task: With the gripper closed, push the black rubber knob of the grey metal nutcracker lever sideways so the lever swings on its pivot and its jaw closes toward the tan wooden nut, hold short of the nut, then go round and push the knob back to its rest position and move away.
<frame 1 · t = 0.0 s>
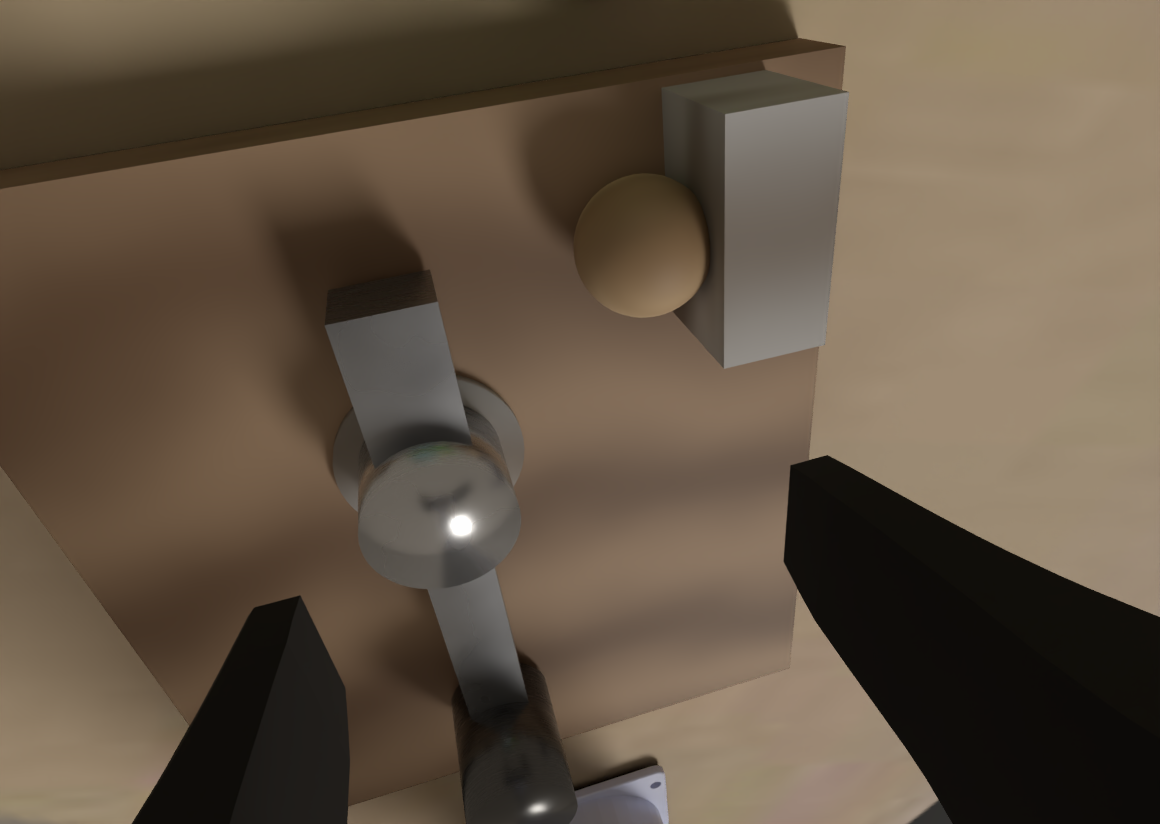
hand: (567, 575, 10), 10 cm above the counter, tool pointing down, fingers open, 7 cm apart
board: (480, 486, 22), on the counter
lever: (467, 608, 18), point 4 cm above the counter, hinge at 0.0°
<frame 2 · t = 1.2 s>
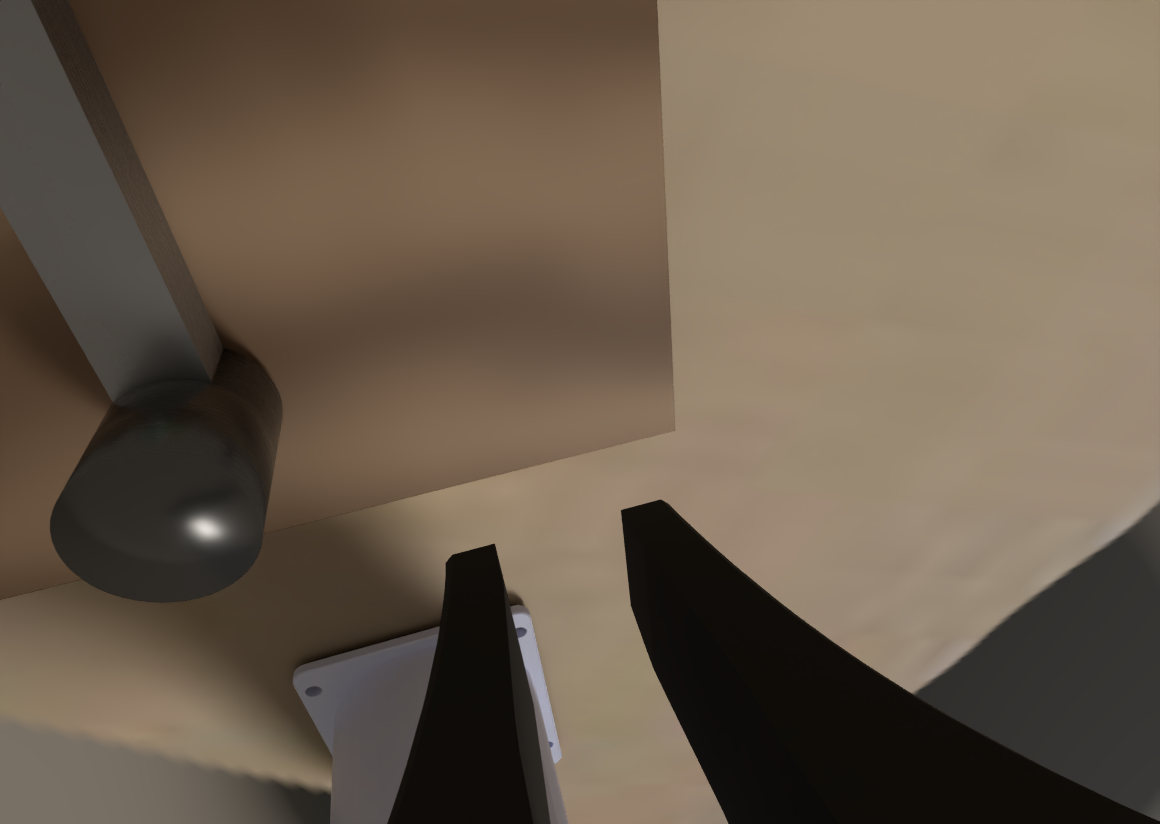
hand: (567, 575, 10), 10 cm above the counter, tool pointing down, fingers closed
board: (133, 37, 14), on the counter
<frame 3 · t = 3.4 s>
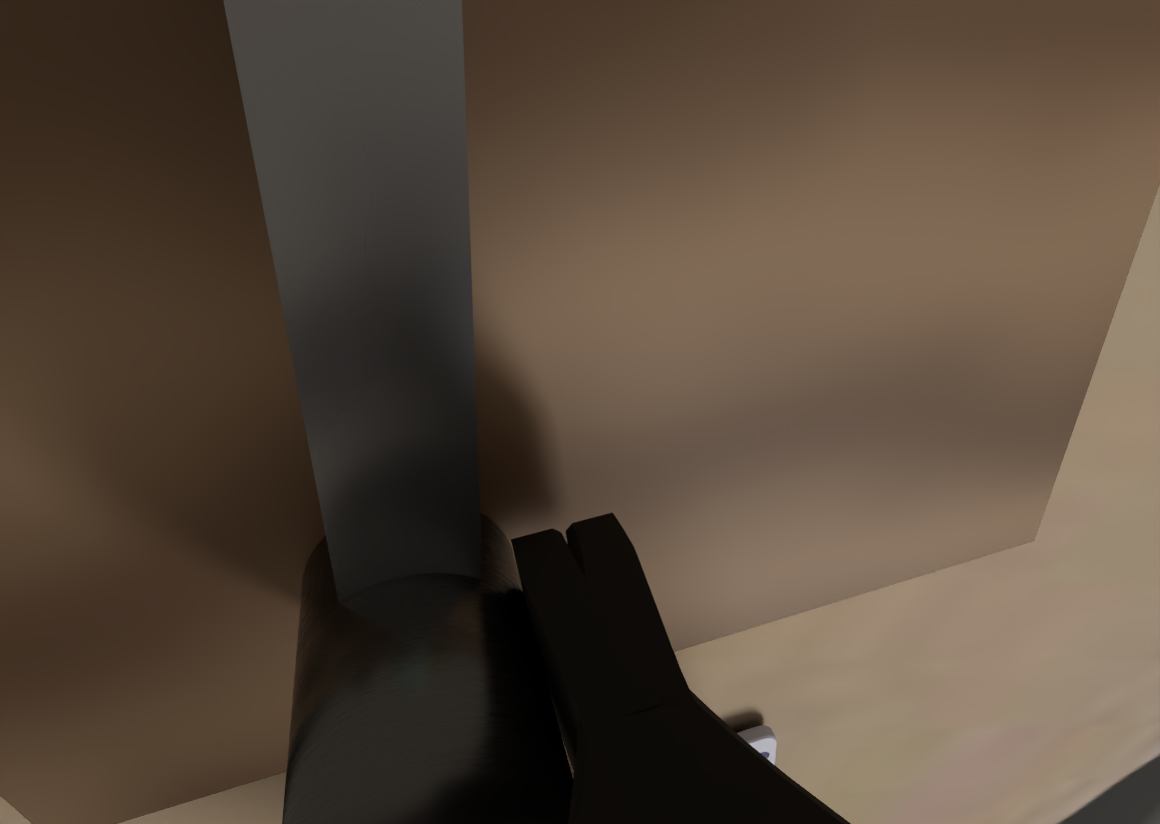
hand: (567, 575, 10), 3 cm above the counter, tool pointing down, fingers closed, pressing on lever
board: (472, 46, 9), on the counter
lever: (364, 170, 6), point 4 cm above the counter, hinge at -9.6°, touching gripper
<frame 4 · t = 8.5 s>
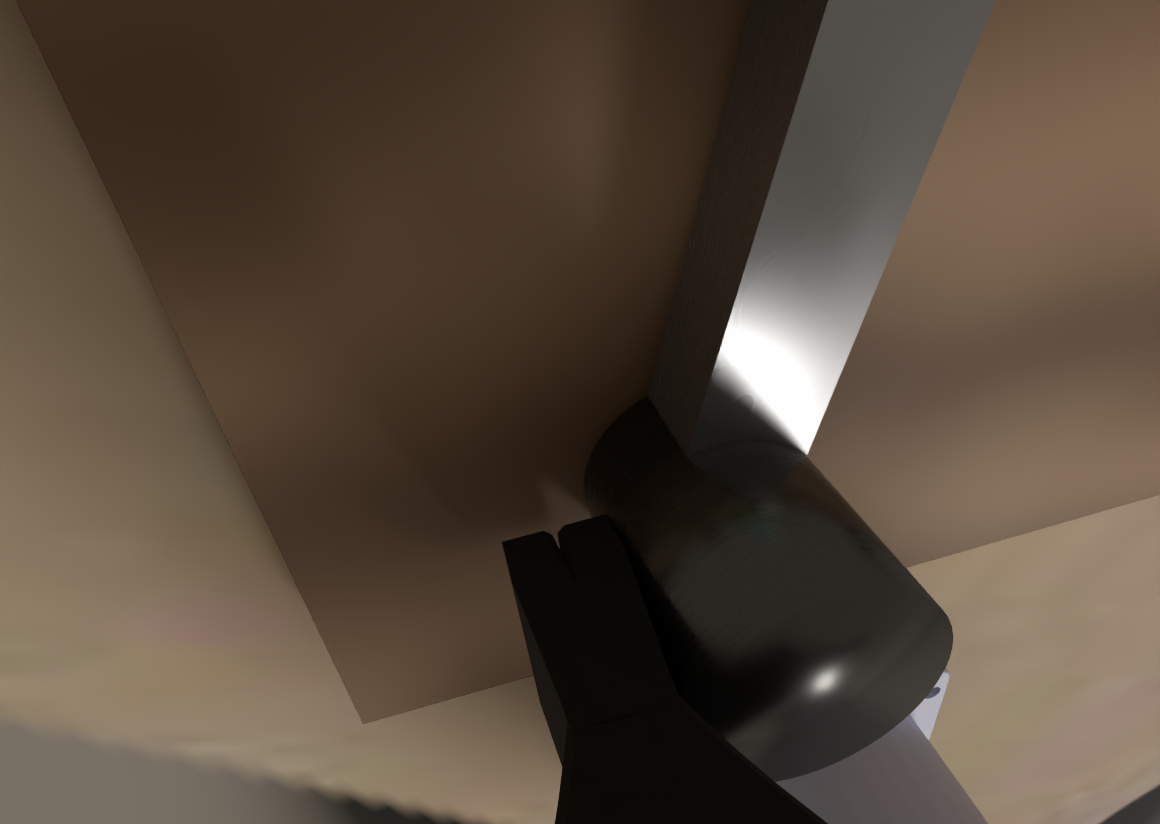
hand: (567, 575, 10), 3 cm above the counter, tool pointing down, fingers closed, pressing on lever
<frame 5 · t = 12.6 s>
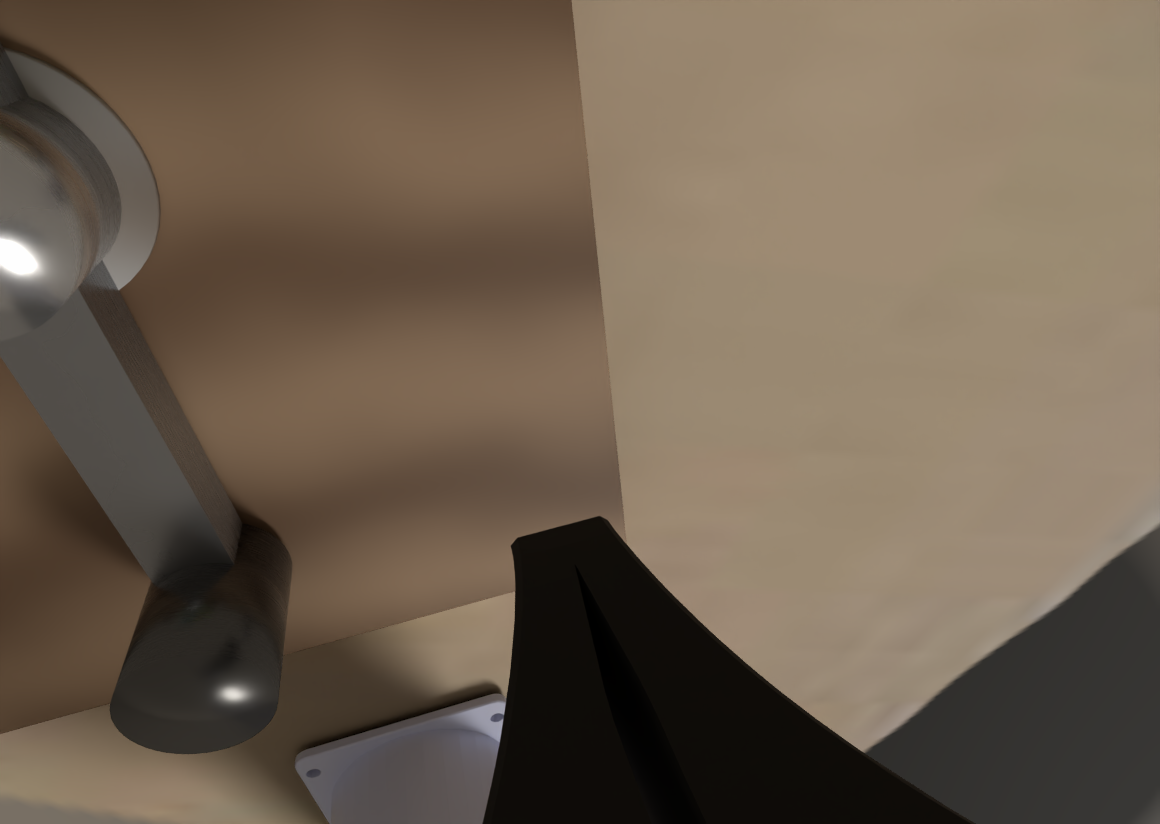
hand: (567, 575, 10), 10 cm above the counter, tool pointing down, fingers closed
board: (164, 283, 17), on the counter
lever: (64, 397, 13), point 4 cm above the counter, hinge at 0.7°
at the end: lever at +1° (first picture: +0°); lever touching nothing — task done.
